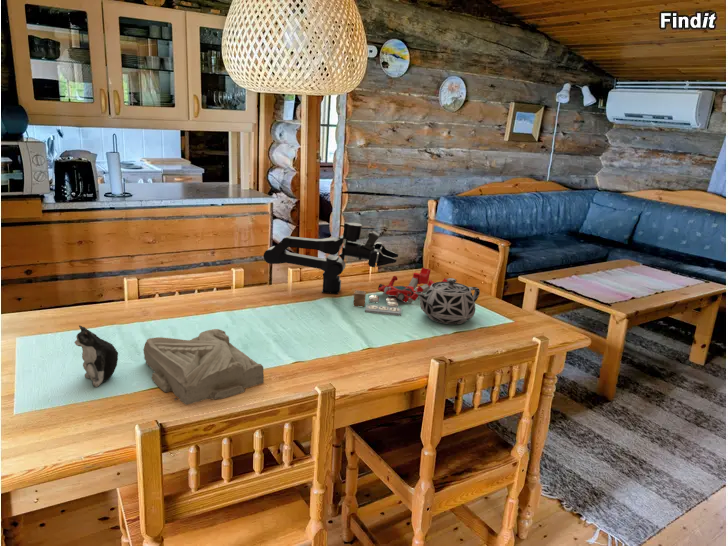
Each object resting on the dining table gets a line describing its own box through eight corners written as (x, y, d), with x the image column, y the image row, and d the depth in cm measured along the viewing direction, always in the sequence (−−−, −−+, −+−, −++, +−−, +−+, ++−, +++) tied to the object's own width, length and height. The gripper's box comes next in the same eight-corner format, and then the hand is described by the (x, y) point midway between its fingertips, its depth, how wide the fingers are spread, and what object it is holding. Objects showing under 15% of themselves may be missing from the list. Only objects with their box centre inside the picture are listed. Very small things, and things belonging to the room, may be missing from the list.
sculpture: (179, 412, 131) (179, 379, 128) (135, 362, 154) (133, 333, 151) (274, 385, 147) (275, 355, 144) (221, 343, 169) (221, 316, 167)
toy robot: (456, 277, 225) (399, 281, 208) (453, 299, 228) (396, 306, 210) (427, 266, 239) (371, 269, 222) (424, 287, 241) (368, 292, 224)
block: (353, 306, 209) (354, 293, 207) (354, 302, 213) (355, 290, 211) (363, 307, 208) (364, 294, 207) (365, 303, 212) (366, 291, 211)
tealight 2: (384, 304, 213) (385, 297, 213) (387, 301, 217) (387, 294, 216) (395, 305, 213) (395, 299, 212) (397, 302, 216) (397, 296, 216)
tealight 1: (368, 302, 214) (368, 296, 213) (369, 299, 218) (369, 293, 217) (378, 303, 214) (379, 297, 213) (379, 300, 218) (380, 294, 217)
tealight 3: (386, 308, 209) (387, 301, 208) (387, 305, 213) (388, 298, 212) (397, 309, 209) (398, 303, 208) (398, 306, 213) (398, 299, 212)
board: (365, 311, 203) (365, 309, 203) (366, 306, 209) (367, 303, 209) (400, 315, 202) (400, 312, 202) (401, 309, 208) (401, 307, 208)
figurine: (70, 377, 143) (65, 322, 138) (109, 367, 149) (106, 314, 145) (83, 391, 136) (79, 334, 132) (124, 380, 143) (121, 325, 139)
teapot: (395, 316, 202) (398, 276, 197) (458, 305, 218) (463, 268, 214) (428, 334, 186) (433, 292, 182) (494, 321, 203) (499, 282, 199)
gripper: (357, 234, 207) (399, 242, 205) (364, 226, 224) (402, 233, 223) (353, 263, 209) (394, 271, 208) (359, 253, 227) (397, 260, 226)
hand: (397, 258), depth 216 cm, fingers open, 9 cm apart
